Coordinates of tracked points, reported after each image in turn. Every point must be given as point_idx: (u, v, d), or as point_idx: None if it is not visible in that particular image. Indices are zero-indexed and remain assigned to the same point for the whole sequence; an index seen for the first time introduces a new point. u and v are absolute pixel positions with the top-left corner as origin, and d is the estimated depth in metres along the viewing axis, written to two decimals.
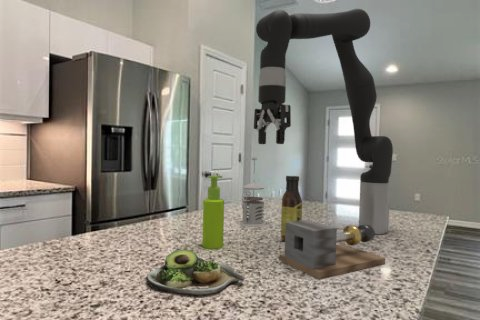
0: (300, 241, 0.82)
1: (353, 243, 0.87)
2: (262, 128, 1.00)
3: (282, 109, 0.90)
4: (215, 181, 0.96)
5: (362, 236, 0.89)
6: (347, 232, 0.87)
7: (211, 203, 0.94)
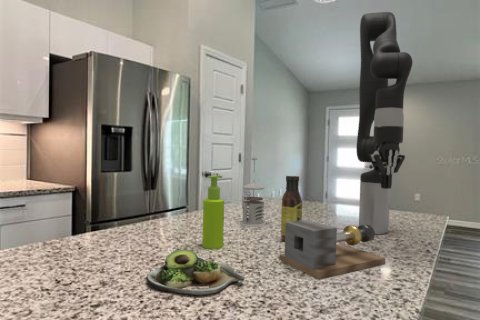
0: (300, 241, 0.82)
1: (353, 243, 0.87)
2: None
3: (402, 159, 0.97)
4: (215, 181, 0.96)
5: (362, 236, 0.89)
6: (347, 232, 0.87)
7: (211, 203, 0.94)
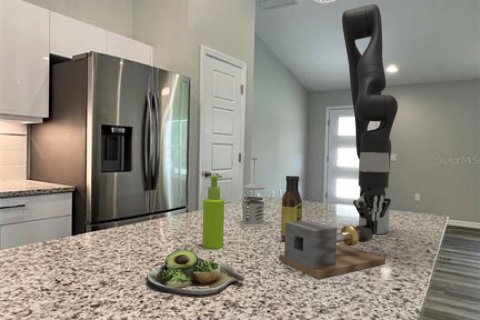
0: (300, 241, 0.82)
1: (351, 243, 0.87)
2: None
3: (388, 203, 0.94)
4: (215, 181, 0.96)
5: (360, 236, 0.89)
6: (344, 232, 0.87)
7: (211, 203, 0.94)
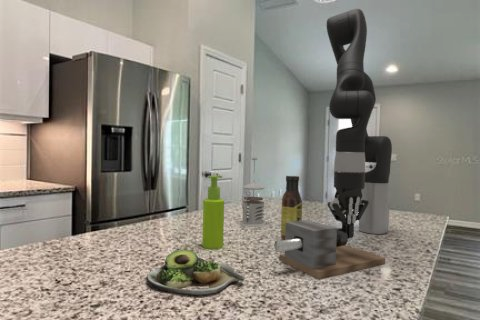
0: None
1: None
2: None
3: (366, 205, 0.89)
4: (215, 181, 0.96)
5: None
6: None
7: (211, 203, 0.94)
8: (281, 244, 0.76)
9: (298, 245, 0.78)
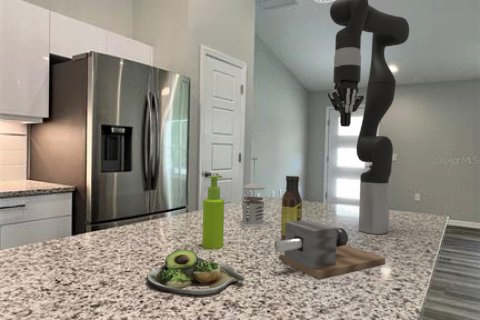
0: None
1: None
2: None
3: (361, 99, 1.02)
4: (215, 181, 0.96)
5: None
6: None
7: (211, 203, 0.94)
8: (281, 244, 0.76)
9: (299, 245, 0.78)
